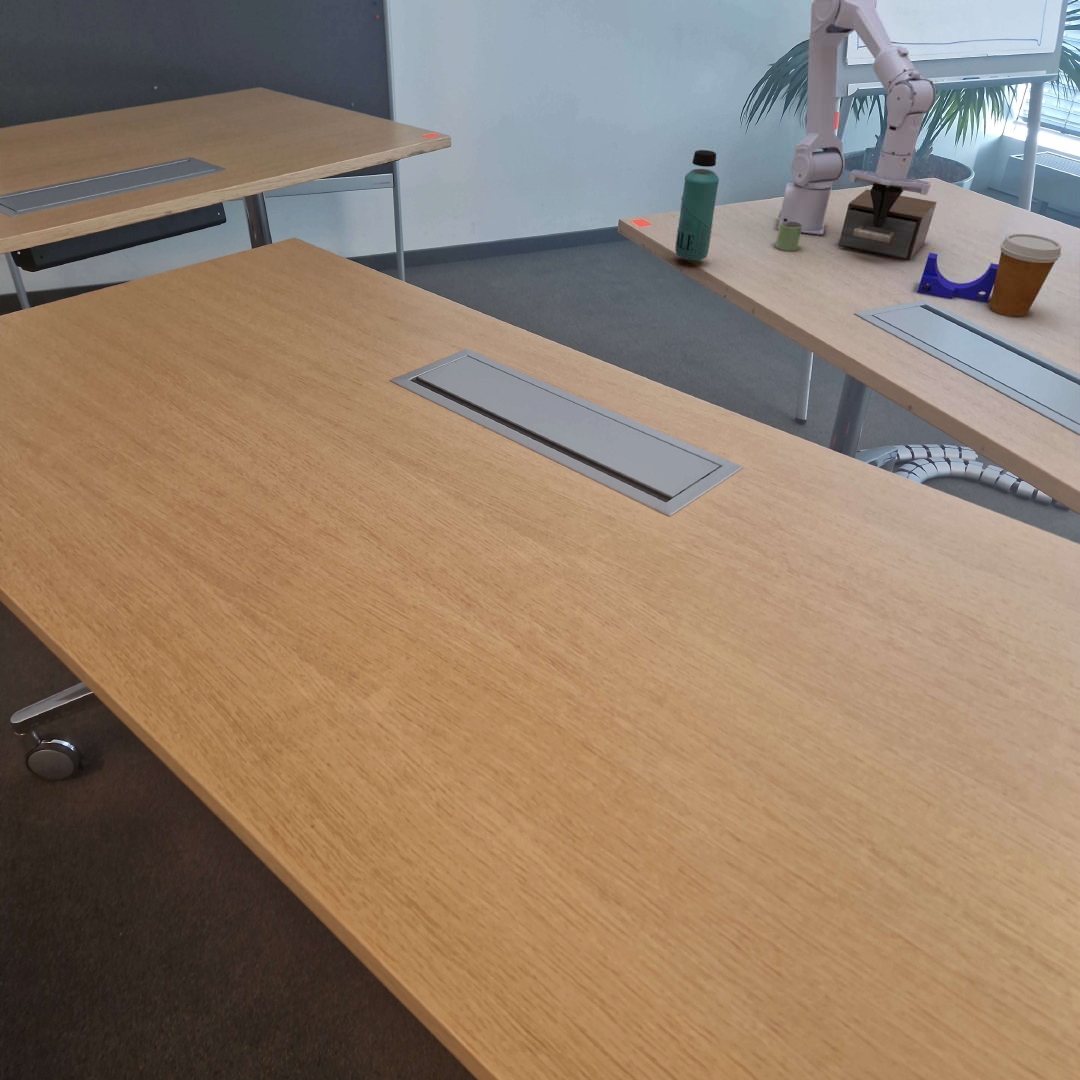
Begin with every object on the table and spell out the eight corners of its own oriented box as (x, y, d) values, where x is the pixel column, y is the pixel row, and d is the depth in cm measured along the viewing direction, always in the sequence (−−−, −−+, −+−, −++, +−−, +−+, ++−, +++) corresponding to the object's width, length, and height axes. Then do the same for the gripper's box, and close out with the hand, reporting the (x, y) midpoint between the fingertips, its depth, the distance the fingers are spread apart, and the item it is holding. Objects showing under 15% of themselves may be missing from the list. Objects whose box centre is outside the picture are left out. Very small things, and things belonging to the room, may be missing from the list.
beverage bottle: (709, 259, 170) (727, 149, 158) (703, 270, 165) (720, 157, 153) (676, 254, 172) (691, 145, 160) (669, 265, 167) (684, 152, 155)
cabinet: (909, 260, 175) (922, 217, 170) (838, 245, 181) (848, 203, 176) (924, 243, 184) (936, 202, 179) (856, 229, 190) (866, 189, 185)
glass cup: (774, 249, 177) (779, 226, 174) (776, 242, 180) (780, 219, 178) (796, 252, 176) (801, 228, 173) (798, 245, 180) (803, 222, 177)
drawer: (899, 264, 170) (909, 229, 166) (832, 250, 175) (840, 216, 171) (919, 242, 182) (929, 209, 178) (856, 229, 187) (864, 197, 183)
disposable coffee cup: (1033, 324, 150) (1060, 254, 143) (974, 311, 154) (998, 242, 147) (1040, 308, 157) (1067, 240, 150) (984, 295, 161) (1007, 229, 153)
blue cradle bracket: (917, 292, 161) (927, 259, 157) (919, 284, 164) (929, 252, 160) (987, 305, 157) (998, 272, 153) (988, 297, 160) (999, 264, 156)
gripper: (852, 149, 164) (835, 223, 172) (932, 162, 158) (910, 238, 166) (862, 143, 169) (845, 215, 177) (940, 155, 163) (919, 229, 171)
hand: (877, 226), depth 172 cm, fingers closed
